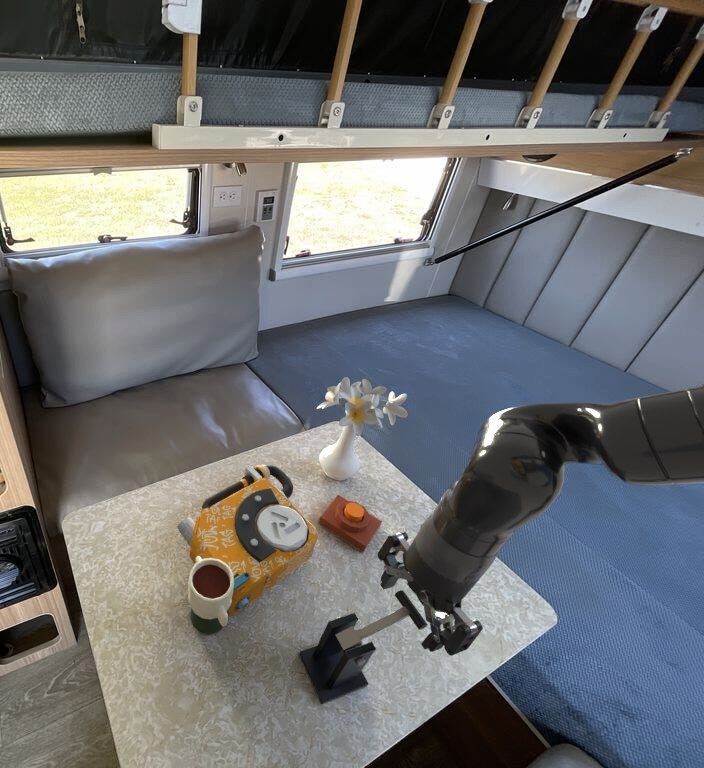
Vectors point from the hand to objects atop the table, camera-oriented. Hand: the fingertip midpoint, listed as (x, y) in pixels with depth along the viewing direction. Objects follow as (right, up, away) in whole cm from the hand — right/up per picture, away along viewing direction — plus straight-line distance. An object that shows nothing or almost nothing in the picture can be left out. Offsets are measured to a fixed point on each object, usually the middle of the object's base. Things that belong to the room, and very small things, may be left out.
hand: (406, 613), depth 58 cm
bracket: (-9, -12, +6) cm, 16 cm away
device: (-19, +2, +25) cm, 31 cm away
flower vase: (+5, +12, +40) cm, 42 cm away
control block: (+2, +3, +27) cm, 27 cm away
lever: (-4, -2, 0) cm, 5 cm away
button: (+2, +6, +25) cm, 26 cm away
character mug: (-28, -7, +12) cm, 32 cm away
